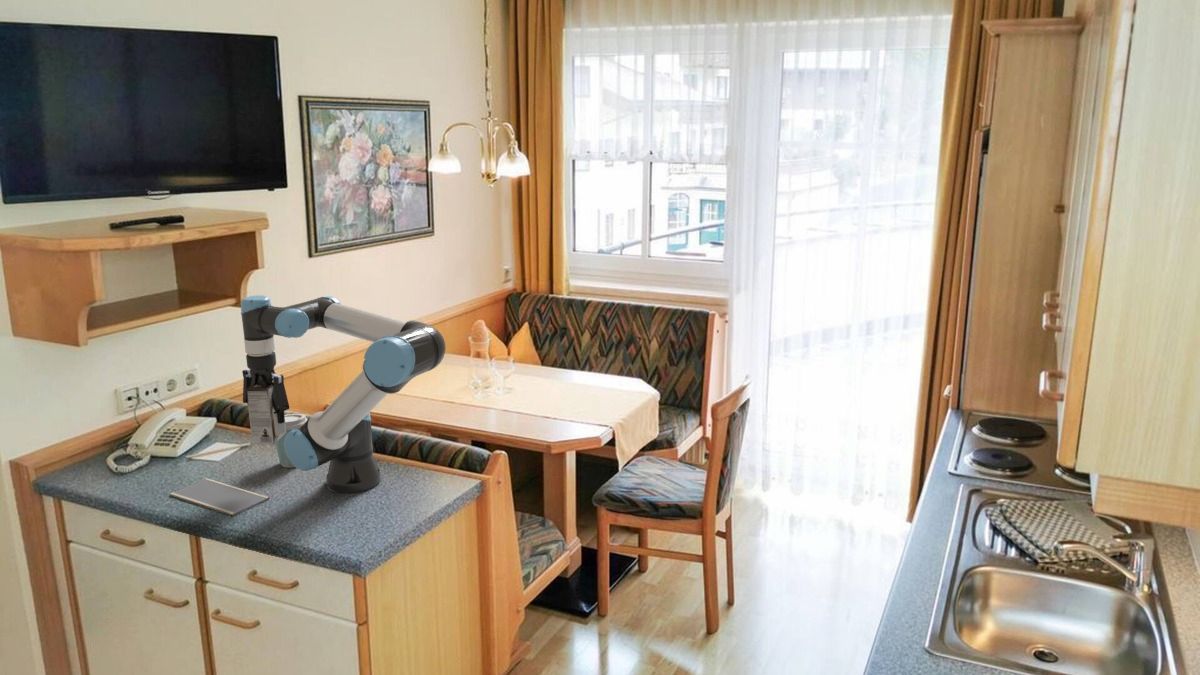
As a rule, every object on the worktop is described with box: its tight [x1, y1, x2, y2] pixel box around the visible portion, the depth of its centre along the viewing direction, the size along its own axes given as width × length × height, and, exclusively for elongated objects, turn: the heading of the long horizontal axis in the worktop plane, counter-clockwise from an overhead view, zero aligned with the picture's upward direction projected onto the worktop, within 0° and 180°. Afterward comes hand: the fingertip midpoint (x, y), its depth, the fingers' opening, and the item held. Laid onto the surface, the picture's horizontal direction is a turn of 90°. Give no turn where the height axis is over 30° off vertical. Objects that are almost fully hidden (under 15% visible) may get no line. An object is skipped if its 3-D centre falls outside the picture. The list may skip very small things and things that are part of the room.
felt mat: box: [169, 477, 270, 517], centre depth 250 cm, size 26×12×1 cm, turn 60°
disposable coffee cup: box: [274, 413, 309, 468], centre depth 271 cm, size 11×11×15 cm
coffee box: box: [246, 384, 286, 446], centre depth 250 cm, size 9×6×16 cm
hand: (268, 430), depth 252 cm, fingers closed on coffee box, 8 cm apart
